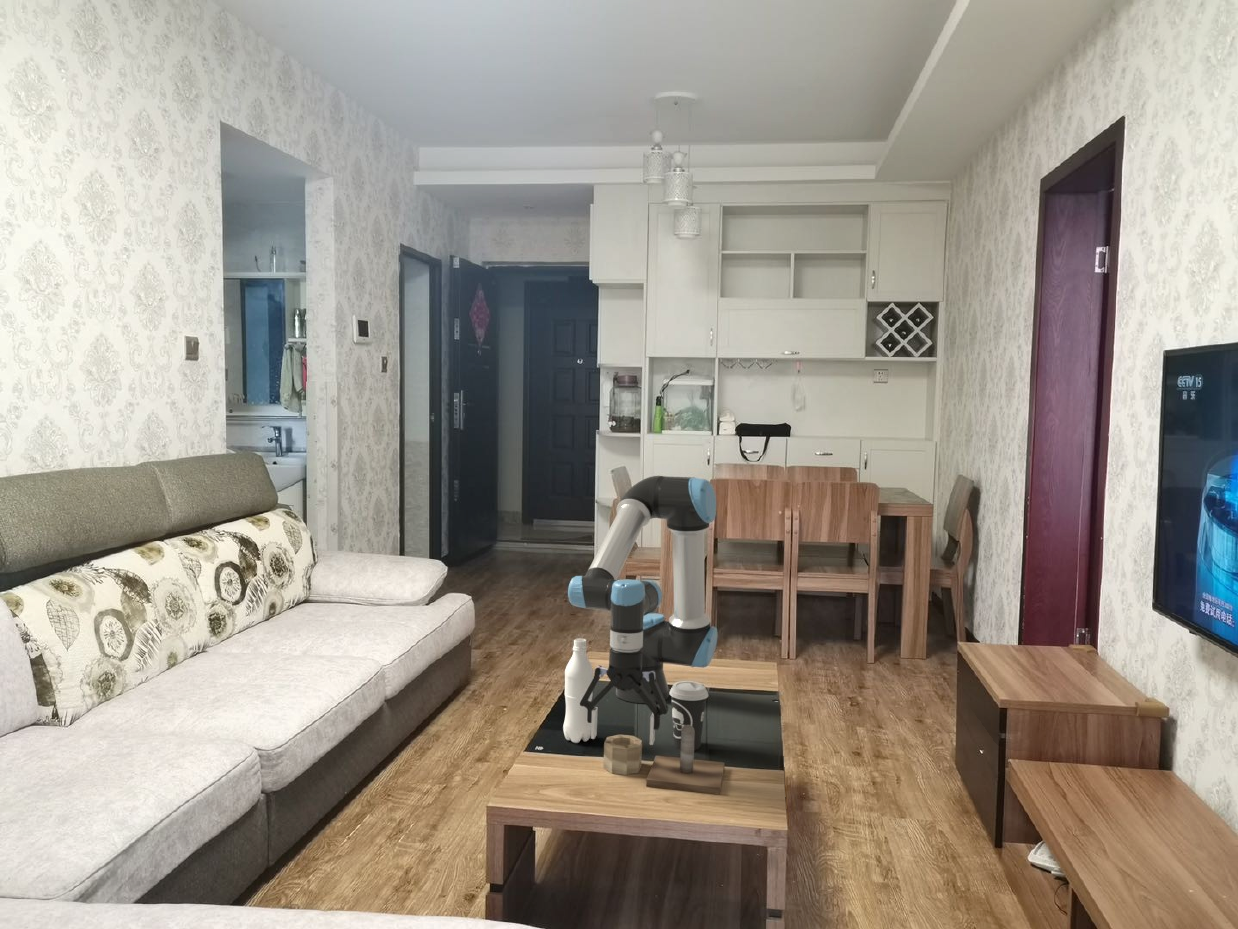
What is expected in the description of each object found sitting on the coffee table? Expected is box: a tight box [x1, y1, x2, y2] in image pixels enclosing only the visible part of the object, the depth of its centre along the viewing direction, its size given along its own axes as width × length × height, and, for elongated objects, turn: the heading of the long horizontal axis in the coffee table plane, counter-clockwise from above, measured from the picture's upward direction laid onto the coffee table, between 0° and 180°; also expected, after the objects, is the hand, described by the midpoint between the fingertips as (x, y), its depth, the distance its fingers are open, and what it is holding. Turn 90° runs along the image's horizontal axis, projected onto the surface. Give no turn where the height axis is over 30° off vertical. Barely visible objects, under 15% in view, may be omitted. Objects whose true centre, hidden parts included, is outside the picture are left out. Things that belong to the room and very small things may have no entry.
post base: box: [645, 725, 725, 795], centre depth 201 cm, size 14×16×12 cm
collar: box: [603, 734, 643, 776], centre depth 206 cm, size 8×8×6 cm
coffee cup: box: [668, 680, 709, 751], centre depth 220 cm, size 10×10×15 cm
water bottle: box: [562, 638, 595, 744], centre depth 222 cm, size 7×7×25 cm
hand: (622, 740), depth 205 cm, fingers open, 13 cm apart
